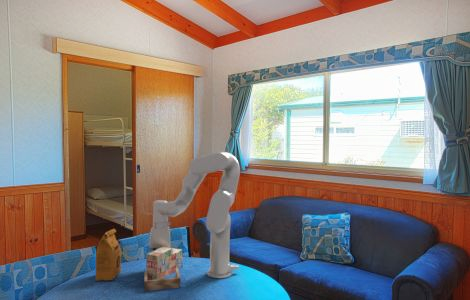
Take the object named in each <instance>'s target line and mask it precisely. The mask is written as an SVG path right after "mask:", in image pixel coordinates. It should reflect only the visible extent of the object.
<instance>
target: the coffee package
mask: <svg viewBox="0 0 470 300" xmlns="http://www.w3.org/2000/svg"><path fill="white" fill-rule="evenodd" d="M116 233H117V230H116V229H115V228H112V229H110V230H108V231H106V232H105V233H104V234H103V236H102V237H101V239H100V241H99V242H98V245H97V246H96V251H95V281H97V282H99V281H113V280H115V278H116V277H117V276H119V274H121V271H122V248H121V245H120V244H119V241H118V240H117V238H116V235H115V234H116Z"/></svg>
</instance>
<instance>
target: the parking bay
mask: <svg viewBox="0 0 470 300" xmlns="http://www.w3.org/2000/svg"><path fill="white" fill-rule="evenodd" d="M181 278H182V277H181V275H180V271H179V269H175V272H174V277H171V278H169V277H168V278H163V279H157V280H147V270H144V279H143V280H144V284H143V285H144V286H143V287H144V292H146V291H148V292H149V291H157V290H169V289H179V288H182V287H181Z"/></svg>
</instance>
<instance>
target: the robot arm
mask: <svg viewBox="0 0 470 300" xmlns="http://www.w3.org/2000/svg"><path fill="white" fill-rule="evenodd" d="M240 167H241V166H240V163H239V161H238V159H237V158H236V157H235V156H234V155H233V154H232V153H230V152H227V151H217V152H214V153H211V154H210V153H209V154H206V155H202V156H197V157H194V158H192V159H191V160H190V162H189V164H188V169H189V170H188V172H187V173H186V174H185V176H184V178H182V181H181V183H182V187H181V190H180V192H179V194H178V195H177V197H176V198H175V200H171V201H167V200H165V199H157V200H154V202H153V205H152V227H151V229H150V232H149V233H150V234H149V235H150V236H149V237H150V238H149V250H150V251H155V250H157V249H159V248H161V247H165V248H172V247H171V231H170V229H171V228H170V225H171V224H172V222H171V221H169V217H172V218H175V217H177V216H178V215H180V214H182V213H184V212H185V211H186V209H187V208H188V207H189V205H190V204H191V202H192V200H193V198H194V197H195V195H196V192H197V190H198V188H199V187H200V185H201V183H202V182H203V181H204V179H205V178H206V176H207V174H209V173H210V174H211V173H215V172H218V171H223V172H222V175H221V178H220V183H219V187H218V190H217V191H216V192H214V193H213V195H212V196H211V199H210V203H209V207H208V210H207V215H206V219H205V225H206V229H207V230H208V232H210V238H209V240H210V241H209V269H207V270H206V275H207V276H208V277H209V278H212V279H225V278H229V277H231V276H232V275H233V271H234V270H240V266H239V264H231V263H230V242H231V241H230V240H231V238H230V237H231V223H232V220H231V219H232V218H231V215H230V213H229V212H230V208H231V207H232V205H233V204H234V202H235V198H236V193H237V189H238V184H239V180H240V175H241V168H240Z"/></svg>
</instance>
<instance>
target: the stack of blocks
mask: <svg viewBox="0 0 470 300" xmlns="http://www.w3.org/2000/svg"><path fill="white" fill-rule="evenodd" d="M183 261H184V259H183V249H180V248H176V247H175V248H173V247H171V248H165V247H161V248H158V249H157V250H155V251H154V250H151V251H150V252H148V253H146V261H145V262H146V263H145V264H146V266H145V267H146V271H147V280H157V279H166V278H167V277H168V276H170V275H171V274H173V273H175V269H178V270H180V269H182V268H183Z"/></svg>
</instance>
